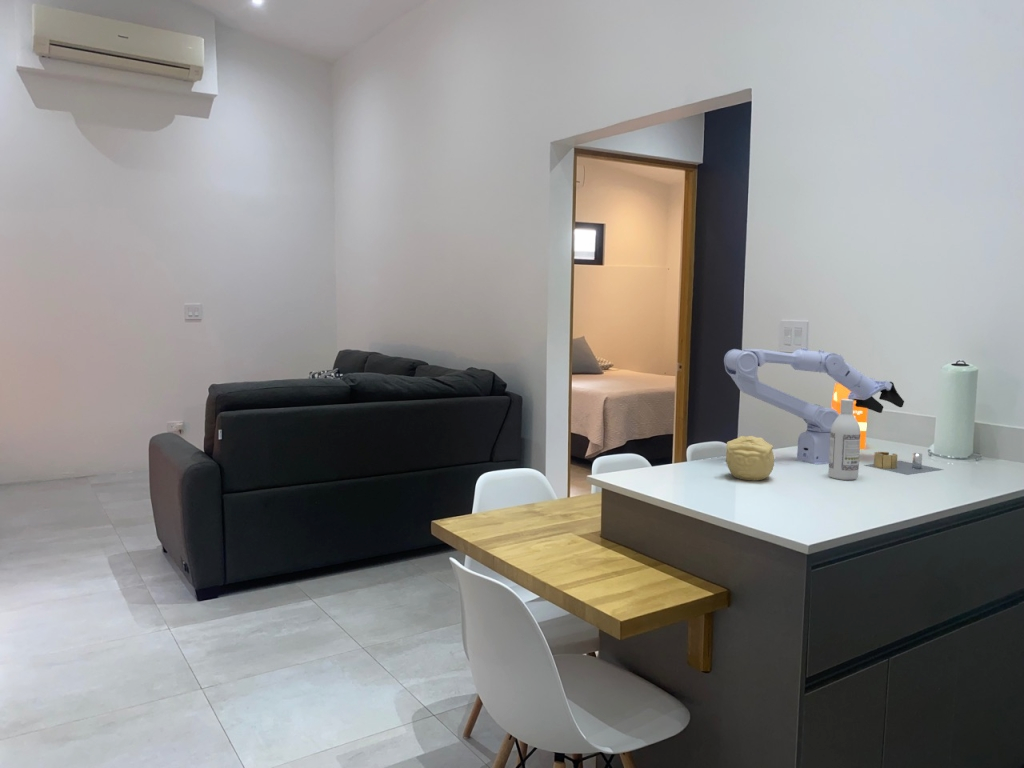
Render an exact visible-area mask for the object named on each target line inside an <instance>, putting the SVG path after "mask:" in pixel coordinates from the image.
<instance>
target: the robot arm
mask: <svg viewBox="0 0 1024 768" xmlns="http://www.w3.org/2000/svg"><path fill="white" fill-rule="evenodd" d="M800 348H801V349H798V348H797V349H796V350H794V351H793V352H791V353H790V352H783V351H778V350H777V351H776V350H768V349H761V348H744V349H742V350H741V349H737V348H733V349H730V350H728V351H727V352H726V353H725V354H724V358H723V363H724V369H725V372H726V373H727V374H728V375H729V376H730V377H731V379H732V381H733V382H734V383H735V385H736V386H737V388H738V389H739V391H741V392H742V393H743V394H745V395H748V396H750V397H751V398H755V399H757V400H759V401H762V402H764V403H767V404H768V405H771V406H773V407H776V408H779V409H781V410H783V411H785V412H788V413H790V414H792V415H795V416H797V417H798V418H800V419H802V420H803V421H804V422H805V423H806V424H807V425H806V426H807V427H806V430H805V431H802V432H801V433H800V434H799V436H798V438H797V439H798V440H797V453H796V454H797V457H795V458H794V460H796V461H801V462H804V463H809V464H813V465H823V464H824V465H825V464H829V452H830V433H831V427H832V424H833V422H834V421H835V419H836V418H837V417H838V416H839V413H838V412H837V411H836V410H834V409H832V408H830V407H825V406H822V405H820V404H812V403H810V402H807V401H806V400H803V399H801V398H798V397H795V396H794V395H791V394H790V393H787V392H784V391H782V390H780V389H778V388H776V387H773V386H771V385H768V384H766V383H764V382H761V381H760V380H759V377H758V367H762V366H763V365H764V364H767V363H769V364H780V365H781V364H782V365H790V366H791V367H792V369H793V370H794V371H803V372H810V373H811V372H814V373H820V374H821V373H824V374H827V375H828V376H829V377H831V378H832V379H833V380H834V381H835V382H837V383H840V384H841V385H843V386H844V387H845V388H847V389H848V390H850V391H851V392H850V393H849V395H848V399H852V400H853V401H856V404H855V406H856V407H862V408H867V410H870V411H872V412H876V413H879V414H882V413H883V410H884V405H883V404H881V402H879V401H878V400H877V399H876V398H875V397H874V396H875V395H876V394H878V393H879V392H880V395H879V400H880V401H881V400H882V401H885V402H888V403H891V404H892V405H894V406H895V407H898V408H903V407H904V403H905V400H904V399H903V398H902V397H901V396H900V394H899V392H898V391H897V389H896V388H895V385H894V382H892V381H888V380H885V381H884V380H876V379H875V377H870V378H869V377H868V376H867V375H865V374H864V373H862V372H861V371H859V370H858V369H856V368H855V367H854V366H853V365H851V364H849V363H847V362H846V361H845V359H844V356H843V355H841V354H837V353H834V352H826V351H825V350H823V349H819V350H817V351H816V350H809V348H807V347H800Z"/></svg>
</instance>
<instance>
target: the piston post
mask: <svg viewBox="0 0 1024 768" xmlns="http://www.w3.org/2000/svg"><path fill="white" fill-rule="evenodd" d="M922 462H923V453H921V452H913V453H912V462H911V463H912V468H913V469H921V468H922V465H923V463H922Z"/></svg>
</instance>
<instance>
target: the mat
mask: <svg viewBox="0 0 1024 768" xmlns="http://www.w3.org/2000/svg"><path fill="white" fill-rule="evenodd" d="M863 466H865V467H870V468H875V469H878V470H883V471H888V472H891V473H897V474H902V475H906V476H910V475H918V474H922V473H930V472H931V473H932V472H939V471H944V470H945V469H943V468H938V467H933V466H930V465H929V466H928V465H924V464H922V468H921V469H913V468H912V462H909V461H905V460H904V461H903V460H897V468H896V469H883V468H878V467H875V466H874V463H870V464H869V463H868V464H864V465H863Z"/></svg>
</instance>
